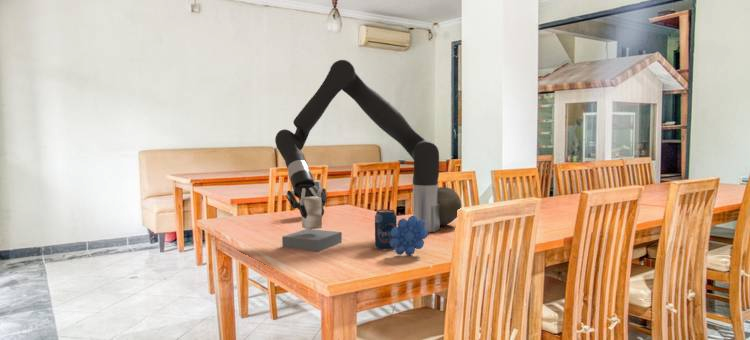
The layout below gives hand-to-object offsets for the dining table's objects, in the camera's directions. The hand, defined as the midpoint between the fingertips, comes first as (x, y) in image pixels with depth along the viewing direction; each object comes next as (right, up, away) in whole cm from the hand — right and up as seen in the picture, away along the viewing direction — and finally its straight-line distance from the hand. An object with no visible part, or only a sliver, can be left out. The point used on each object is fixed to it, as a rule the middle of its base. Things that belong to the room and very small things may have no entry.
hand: (313, 215), depth 167 cm
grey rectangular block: (-7, -6, +57) cm, 57 cm away
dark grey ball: (+46, -7, +33) cm, 57 cm away
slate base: (-1, -10, +2) cm, 11 cm away
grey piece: (-1, -4, +2) cm, 5 cm away
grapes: (+30, -11, -12) cm, 34 cm away
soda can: (+23, -10, -3) cm, 26 cm away
